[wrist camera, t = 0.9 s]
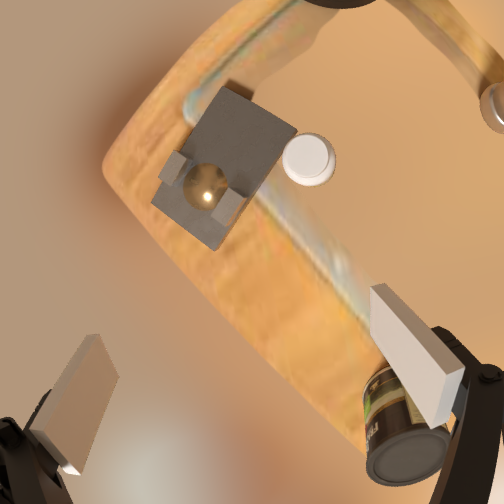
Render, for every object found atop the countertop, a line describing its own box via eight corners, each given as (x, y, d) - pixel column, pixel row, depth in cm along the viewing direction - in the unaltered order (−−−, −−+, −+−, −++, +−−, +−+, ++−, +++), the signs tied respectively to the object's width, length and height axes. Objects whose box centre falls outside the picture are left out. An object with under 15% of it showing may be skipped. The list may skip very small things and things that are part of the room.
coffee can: (361, 422, 41) (363, 492, 28) (362, 367, 40) (368, 436, 26) (426, 413, 38) (444, 478, 25) (432, 357, 37) (462, 419, 23)
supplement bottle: (294, 139, 37) (282, 122, 27) (338, 147, 36) (341, 132, 26) (286, 182, 38) (272, 178, 29) (330, 191, 37) (330, 190, 27)
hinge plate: (226, 89, 37) (217, 80, 34) (297, 131, 36) (294, 125, 33) (156, 202, 42) (142, 203, 39) (218, 249, 41) (208, 254, 38)
